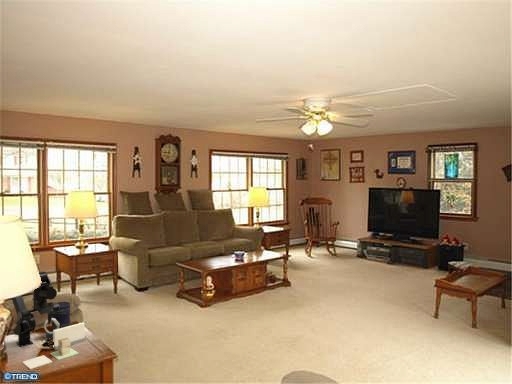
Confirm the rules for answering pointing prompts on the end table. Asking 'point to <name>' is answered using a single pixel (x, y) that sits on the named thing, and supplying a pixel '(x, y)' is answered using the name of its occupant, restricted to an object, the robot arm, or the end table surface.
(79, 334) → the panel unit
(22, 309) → the robot arm
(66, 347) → the block
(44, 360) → the cream mat
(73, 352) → the sage mat
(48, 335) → the watch
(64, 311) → the storage jar
